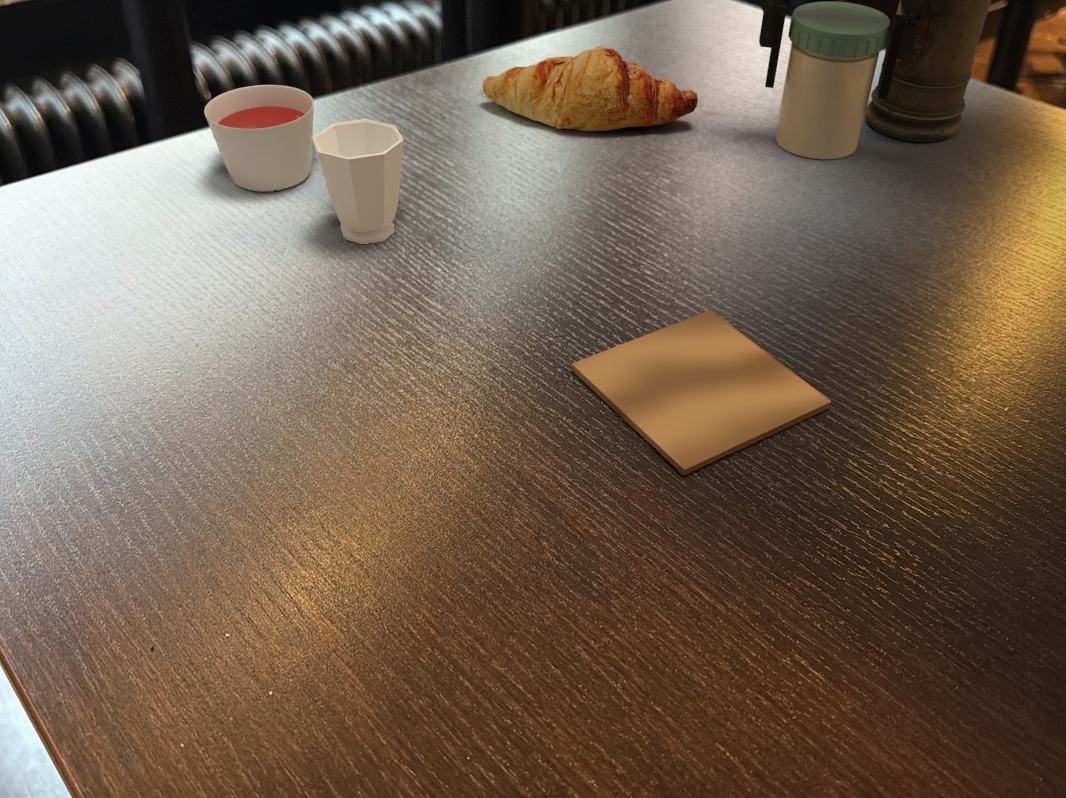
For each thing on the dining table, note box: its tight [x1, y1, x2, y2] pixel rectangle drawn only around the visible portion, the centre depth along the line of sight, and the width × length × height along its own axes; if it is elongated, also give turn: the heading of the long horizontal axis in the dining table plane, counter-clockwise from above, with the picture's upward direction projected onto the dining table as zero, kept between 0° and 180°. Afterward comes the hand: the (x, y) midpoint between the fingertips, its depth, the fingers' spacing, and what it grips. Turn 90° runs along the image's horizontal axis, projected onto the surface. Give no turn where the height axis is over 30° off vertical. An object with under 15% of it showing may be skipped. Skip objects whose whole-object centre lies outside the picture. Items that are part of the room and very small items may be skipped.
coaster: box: [570, 309, 832, 476], centre depth 65 cm, size 12×12×1 cm
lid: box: [787, 0, 891, 58], centre depth 87 cm, size 8×8×2 cm
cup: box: [312, 118, 404, 245], centre depth 79 cm, size 7×10×8 cm
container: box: [865, 0, 992, 143], centre depth 92 cm, size 9×9×18 cm
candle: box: [203, 84, 315, 192], centre depth 86 cm, size 9×9×6 cm
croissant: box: [482, 45, 699, 132], centre depth 96 cm, size 21×10×8 cm, turn 78°
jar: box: [774, 42, 880, 160], centre depth 91 cm, size 8×8×11 cm
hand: (825, 87), depth 91 cm, fingers open, 9 cm apart
